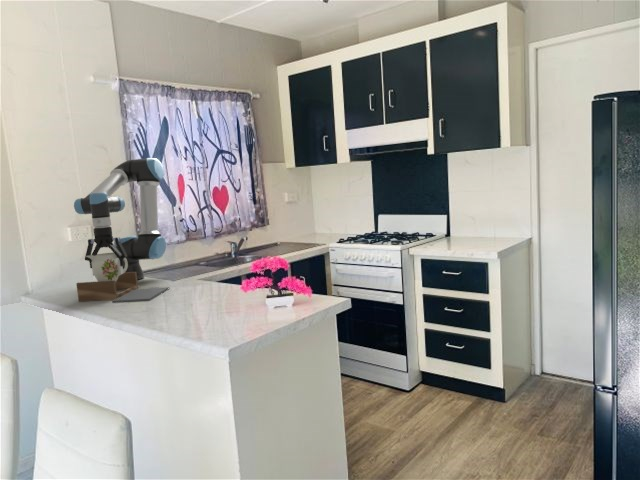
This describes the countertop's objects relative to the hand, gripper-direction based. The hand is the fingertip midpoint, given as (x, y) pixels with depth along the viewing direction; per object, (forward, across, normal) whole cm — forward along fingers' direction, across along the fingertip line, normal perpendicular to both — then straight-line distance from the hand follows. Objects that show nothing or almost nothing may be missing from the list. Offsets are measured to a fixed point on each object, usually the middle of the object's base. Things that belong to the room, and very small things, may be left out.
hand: (108, 274), depth 222 cm
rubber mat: (+9, +18, -8) cm, 21 cm away
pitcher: (+4, 0, 0) cm, 4 cm away
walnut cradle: (+9, 0, -1) cm, 9 cm away
